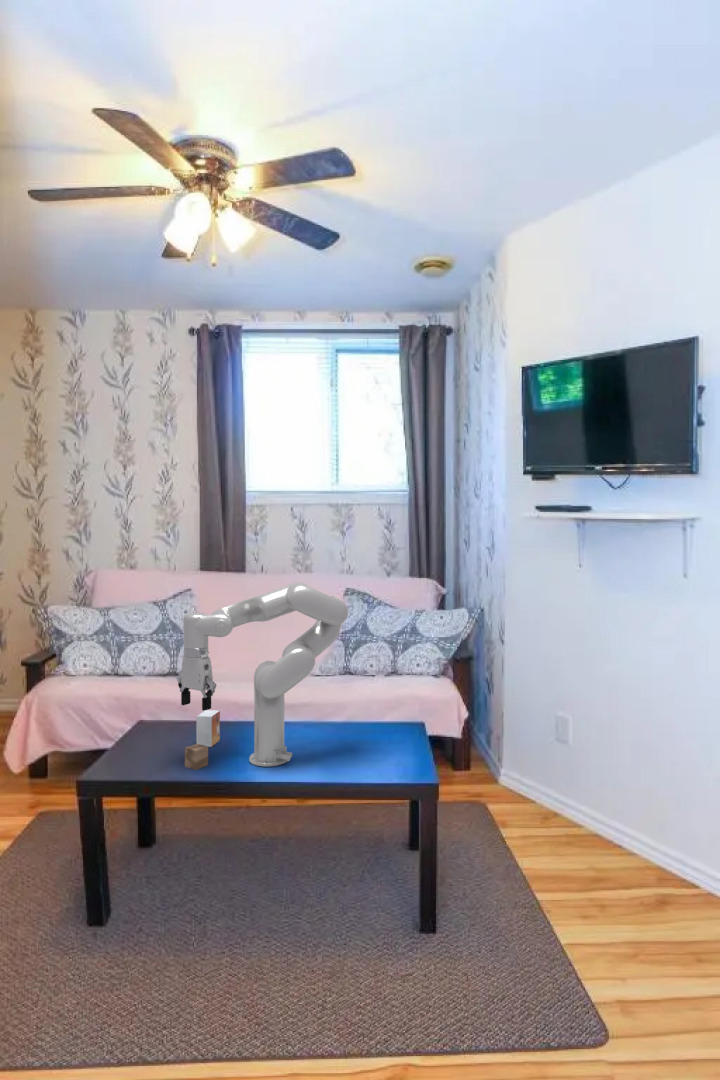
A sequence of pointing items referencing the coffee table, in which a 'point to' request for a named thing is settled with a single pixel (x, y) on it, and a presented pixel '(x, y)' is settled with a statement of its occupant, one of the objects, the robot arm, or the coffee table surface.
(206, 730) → the small box
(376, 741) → the coffee table surface
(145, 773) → the coffee table surface
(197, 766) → the walnut block
